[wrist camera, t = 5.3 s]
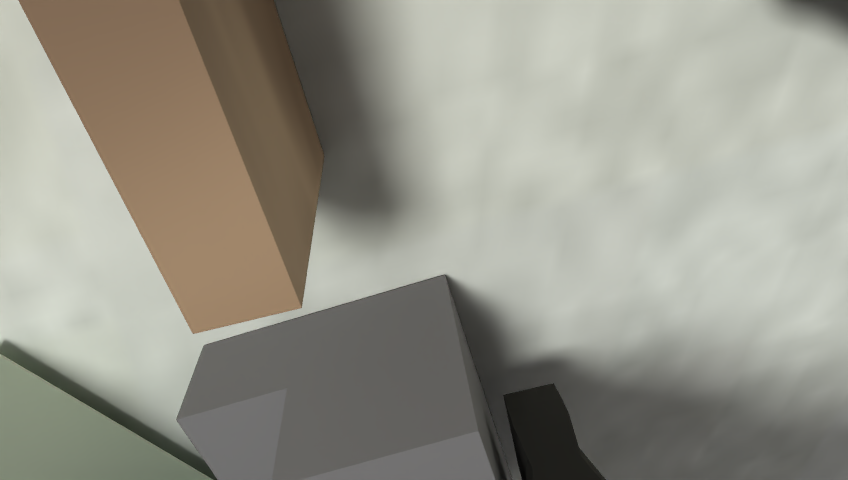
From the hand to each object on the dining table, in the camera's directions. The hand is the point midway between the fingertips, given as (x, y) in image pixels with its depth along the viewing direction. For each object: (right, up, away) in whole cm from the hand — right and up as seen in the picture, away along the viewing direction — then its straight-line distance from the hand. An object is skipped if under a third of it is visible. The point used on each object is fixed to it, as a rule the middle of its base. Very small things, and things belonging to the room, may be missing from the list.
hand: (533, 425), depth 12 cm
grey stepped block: (-3, 0, +1) cm, 4 cm away
